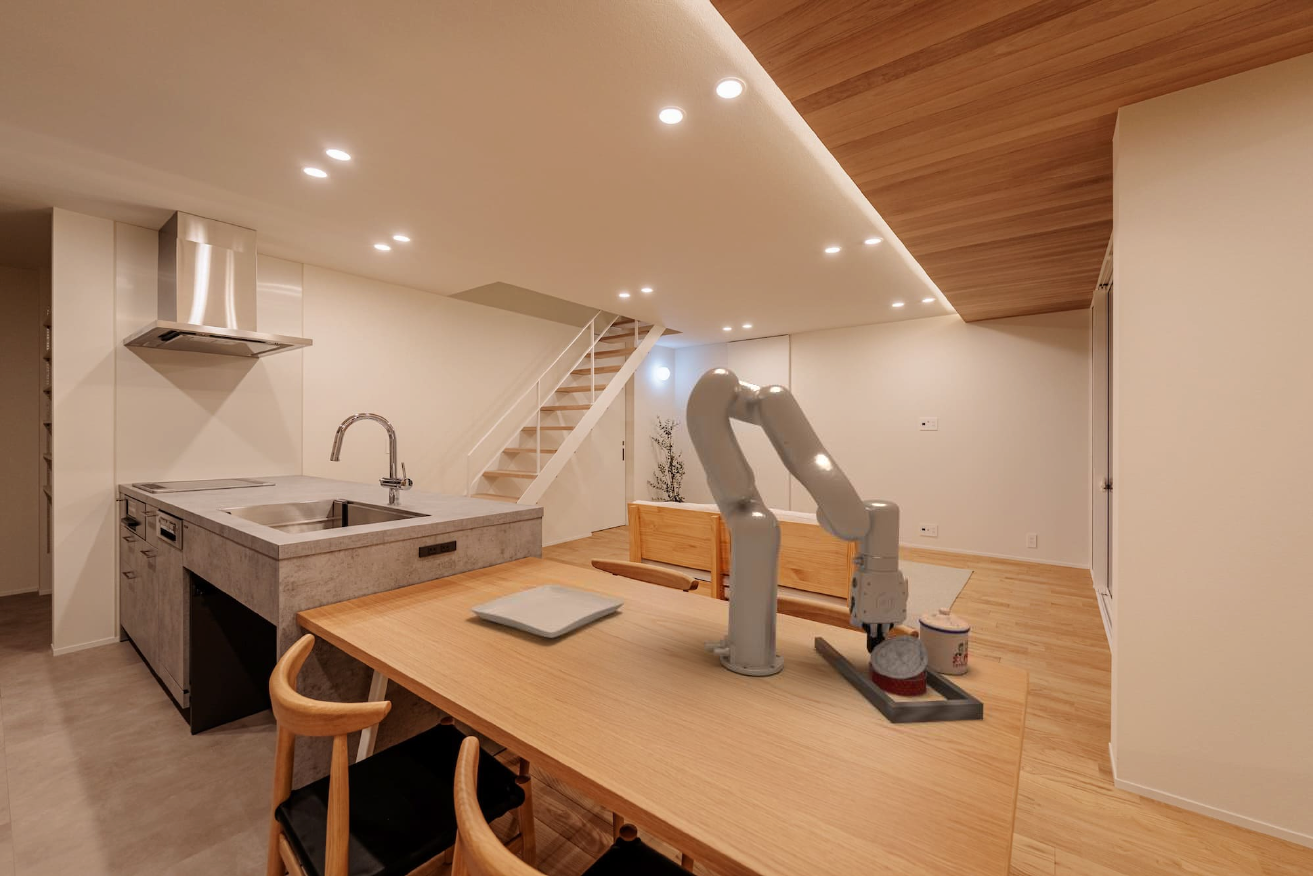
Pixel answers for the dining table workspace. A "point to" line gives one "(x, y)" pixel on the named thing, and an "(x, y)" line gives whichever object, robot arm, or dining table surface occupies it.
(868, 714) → the dining table surface
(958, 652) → the teacup with lid
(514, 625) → the square plate
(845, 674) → the can dock
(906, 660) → the canned food
